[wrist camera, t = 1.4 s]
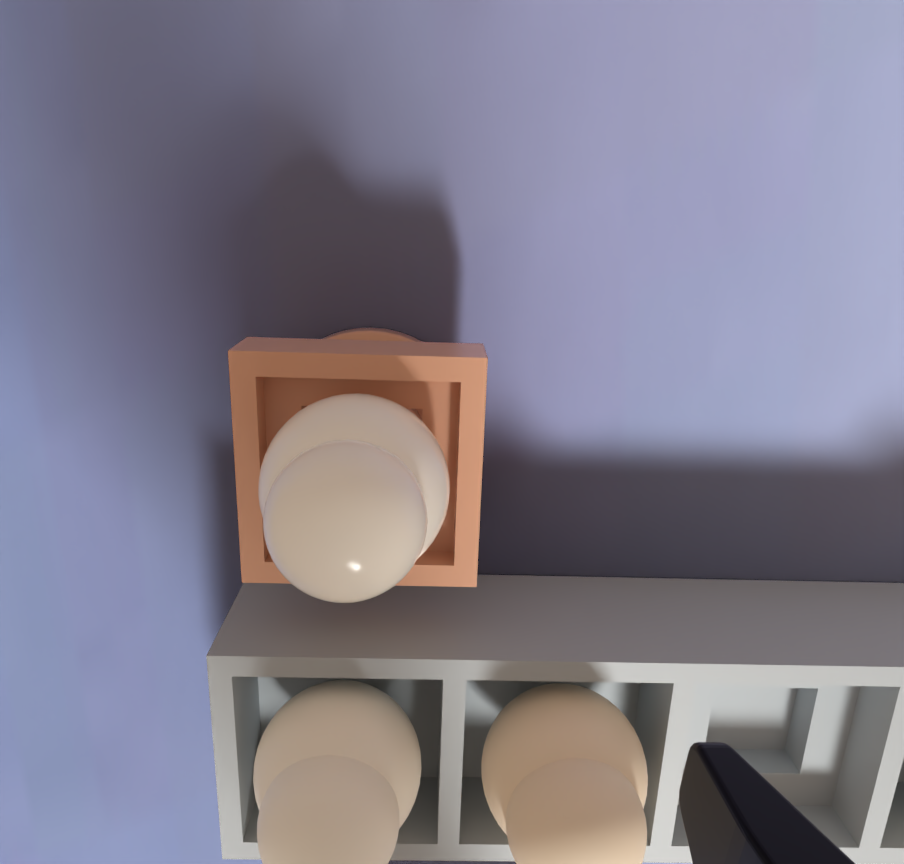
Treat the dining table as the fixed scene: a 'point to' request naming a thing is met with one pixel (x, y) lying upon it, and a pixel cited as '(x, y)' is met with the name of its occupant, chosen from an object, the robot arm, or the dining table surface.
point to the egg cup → (380, 374)
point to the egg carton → (550, 716)
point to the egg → (351, 496)
